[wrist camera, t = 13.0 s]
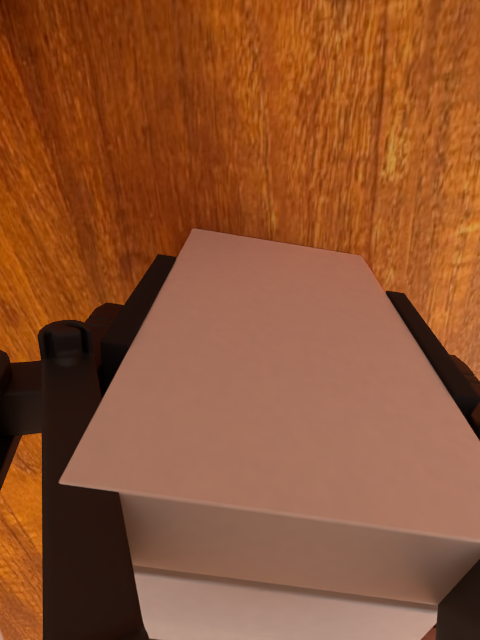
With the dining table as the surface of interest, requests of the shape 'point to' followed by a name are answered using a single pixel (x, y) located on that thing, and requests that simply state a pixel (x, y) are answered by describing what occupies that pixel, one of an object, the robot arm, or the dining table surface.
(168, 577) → the white books
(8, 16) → the dining table surface
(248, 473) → the white book
